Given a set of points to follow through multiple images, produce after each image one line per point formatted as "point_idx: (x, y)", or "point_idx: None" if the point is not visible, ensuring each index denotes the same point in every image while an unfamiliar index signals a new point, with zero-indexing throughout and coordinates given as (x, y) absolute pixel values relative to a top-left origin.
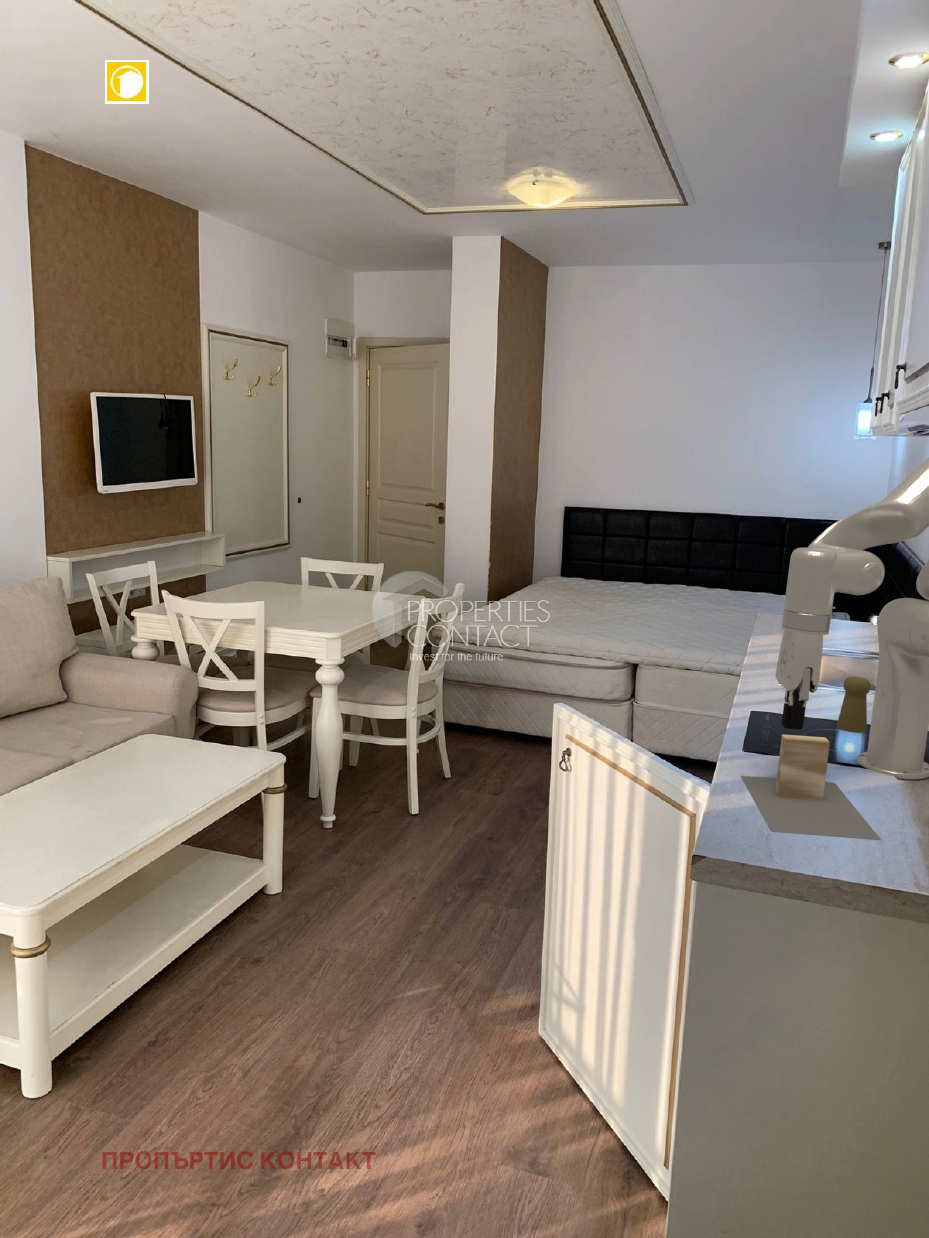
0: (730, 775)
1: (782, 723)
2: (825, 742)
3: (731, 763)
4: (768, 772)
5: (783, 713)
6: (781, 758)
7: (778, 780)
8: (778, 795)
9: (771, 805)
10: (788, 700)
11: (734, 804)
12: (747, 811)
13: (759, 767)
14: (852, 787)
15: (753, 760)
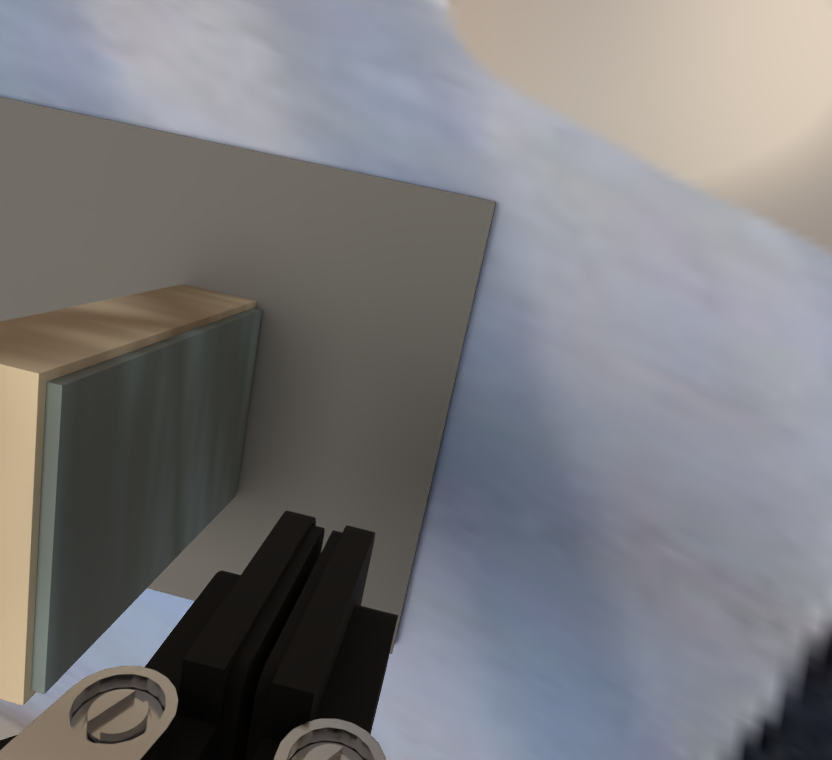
0: (558, 166)
1: (340, 532)
2: None
3: (769, 259)
4: (595, 417)
5: (318, 594)
6: (96, 321)
7: (192, 303)
8: (194, 287)
9: (70, 191)
10: (149, 738)
11: (121, 10)
12: (39, 49)
13: (680, 403)
14: (378, 709)
15: (806, 422)
